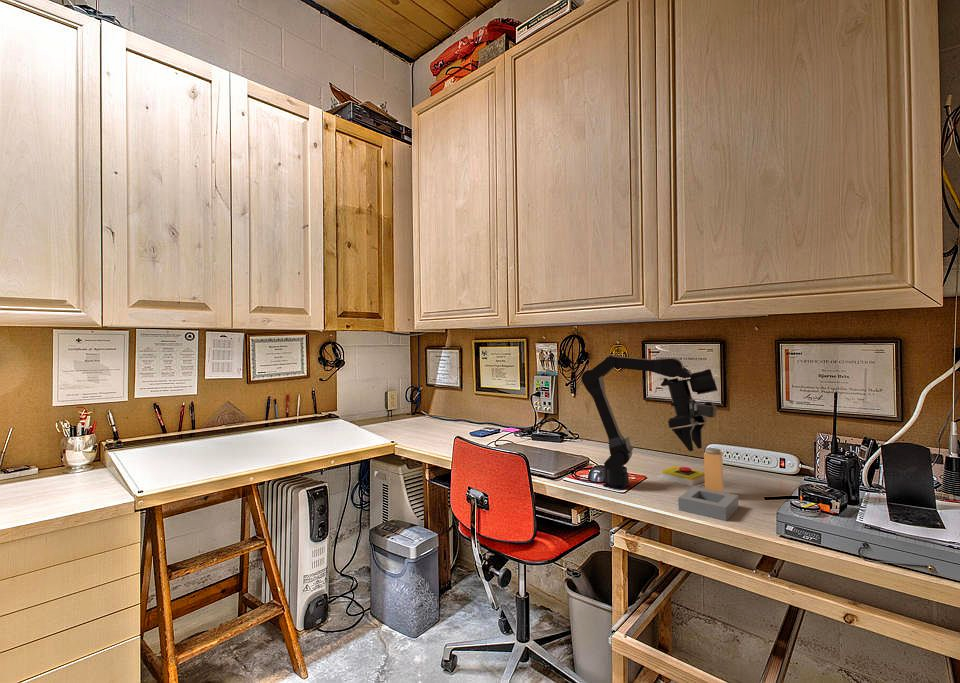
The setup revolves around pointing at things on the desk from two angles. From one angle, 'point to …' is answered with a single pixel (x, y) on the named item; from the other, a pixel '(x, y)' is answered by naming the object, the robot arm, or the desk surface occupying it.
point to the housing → (708, 503)
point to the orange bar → (713, 469)
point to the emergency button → (683, 476)
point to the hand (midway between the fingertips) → (695, 449)
